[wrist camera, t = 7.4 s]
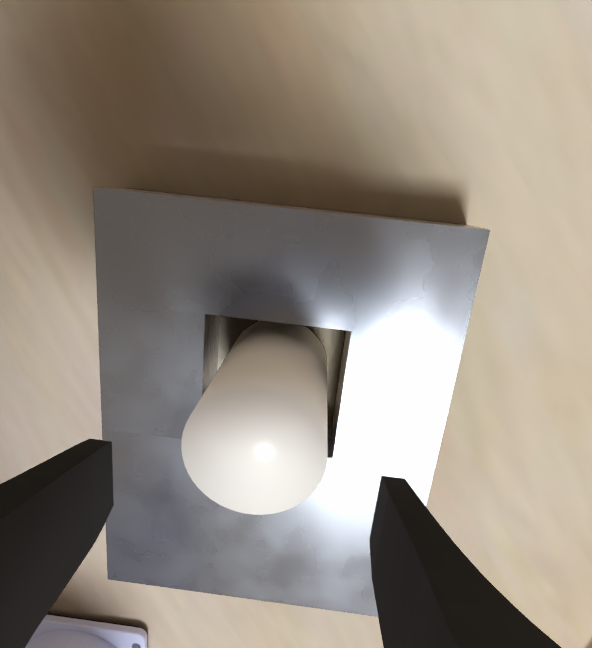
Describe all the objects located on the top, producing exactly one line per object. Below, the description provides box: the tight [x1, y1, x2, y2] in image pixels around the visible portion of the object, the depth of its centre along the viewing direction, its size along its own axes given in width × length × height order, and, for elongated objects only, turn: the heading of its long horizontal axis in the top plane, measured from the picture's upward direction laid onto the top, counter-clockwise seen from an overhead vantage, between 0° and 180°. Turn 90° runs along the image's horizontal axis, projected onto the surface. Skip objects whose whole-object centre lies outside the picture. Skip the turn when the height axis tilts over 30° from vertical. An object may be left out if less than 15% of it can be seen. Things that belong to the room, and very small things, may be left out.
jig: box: [93, 187, 490, 617], centre depth 19 cm, size 18×14×2 cm
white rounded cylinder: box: [181, 321, 328, 515], centre depth 16 cm, size 4×4×7 cm
